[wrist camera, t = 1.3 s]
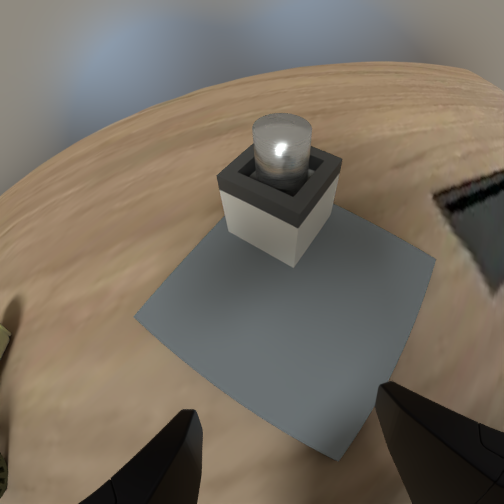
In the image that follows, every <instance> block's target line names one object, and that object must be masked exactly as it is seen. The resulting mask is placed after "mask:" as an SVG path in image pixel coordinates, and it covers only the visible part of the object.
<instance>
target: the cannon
mask: <svg viewBox="0 0 504 504" xmlns="http://www.w3.org/2000/svg"><path fill="white" fill-rule="evenodd" d="M9 336H11V333H10V332H9V331H8V330H7V329H6V328H5V327H4V326H3V325H1V324H0V359H1V357H2V355H3V353H4V351H5V349H6V347H7V345H8V343H9ZM7 480H8V469H7V465H6V463H5V460H4V458H3V456H2V455H1V453H0V498H1V497H2V496H3V494H4V492H5V490H6V487H7Z"/></svg>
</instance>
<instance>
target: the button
mask: <svg viewBox="0 0 504 504" xmlns="http://www.w3.org/2000/svg"><path fill="white" fill-rule="evenodd" d="M252 130H253V143H254V155H255V168H256V180H257V181H259V182H261V183H263V184H266V185H268V186H270V187H272V188H275V189H277V190H279V191H281V192H283V193H286V194H288V195H290V196H292V197H294V196H295V195H296V194H297V193H298V191H299V190H300V189H301V188H302V187H303V185H304V184H305V183H306V182H307V178H308V168H309V158H310V147H311V135H312V127H311V125H310V123H309V122H308V121H307V120H305V119H304V118H302V117H300V116H297V115H293V114H288V113H274V114H269V115H265V116H263V117H261V118H259V119H258V120H256V121H255V123H254V124H253V127H252Z"/></svg>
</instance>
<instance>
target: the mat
mask: <svg viewBox="0 0 504 504" xmlns="http://www.w3.org/2000/svg"><path fill="white" fill-rule="evenodd" d="M435 261H436V259H435V258H433V257H431V256H430V255H428V254H426V253H425V252H423V251H421V250H420V249H418V248H416V247H414V246H413V245H411V244H409V243H407V242H406V241H404V240H402V239H400V238H399V237H397V236H395V235H393V234H391V233H389V232H388V231H386V230H384V229H382V228H380V227H378V226H376V225H375V224H373V223H371V222H369V221H367V220H365V219H363V218H361V217H359V216H357V215H355V214H353V213H351V212H349V211H347V210H345V209H343V208H341V207H339V206H337V205H335V204H333V206H332V211H331V215H330V216H329V218H328V219H327V221H326V222H325V224H324V225H323V227H322V228H321V230H320V231H319V232H318V234H317V235H316V237H315V238H314V240H313V241H312V243H311V244H310V245H309V247H308V248H307V250H306V251H305V253H304V254H303V255H302V257H301V258H300V260H299V261H298V263H297V264H296V265H295V267H294V268H293V267H291V266H289V265H287V264H286V263H284V262H282V261H280V260H278V259H277V258H275V257H273V256H271V255H270V254H268V253H266V252H264V251H263V250H261V249H259V248H257V247H255V246H254V245H252V244H250V243H248V242H247V241H245V240H243V239H241V238H239V237H238V236H236V235H234V234H232V233H231V232H229V231H228V227H227V222H226V218H225V216H224V217H223V218H222V219H221V220H220V221H219V222H218V223H217V224H216V225H215V226H214V228H213V229H212V230H211V231H210V232H209V233H208V234H207V235H206V236H205V237H204V238H203V239H202V240H201V241H200V242H199V244H198V245H197V246H196V247H195V248H194V249H193V250H192V251H191V252H190V253H189V254H188V256H187V257H186V258H185V259H184V260H183V261H182V262H181V263H180V264H179V265H178V267H177V268H176V269H175V270H174V271H173V272H172V273H171V274H170V275H169V277H168V278H167V279H166V280H165V281H164V282H163V283H162V284H161V286H160V287H159V288H158V289H157V290H156V291H155V292H154V294H153V295H152V296H151V297H150V298H149V299H148V300H147V302H146V303H145V304H144V305H143V306H142V307H141V309H140V310H139V311H138V312H137V313H136V314H135V316H134V318H135V319H136V320H137V321H138V322H139V323H141V324H142V325H143V326H144V327H145V328H146V329H147V330H148V331H149V332H150V333H151V334H153V335H154V336H155V337H156V338H157V339H158V340H159V341H160V342H162V343H163V344H164V345H165V346H166V347H167V348H169V349H170V350H171V351H172V352H173V353H174V354H176V355H177V356H178V357H179V358H180V359H182V360H183V361H184V362H185V363H187V364H188V365H189V366H190V367H192V368H193V369H194V370H195V371H197V372H198V373H199V374H200V375H202V376H203V377H204V378H206V379H207V380H208V381H210V382H211V383H212V384H214V385H215V386H216V387H218V388H219V389H220V390H222V391H223V392H224V393H226V394H227V395H229V396H230V397H231V398H233V399H234V400H236V401H237V402H238V403H240V404H241V405H243V406H244V407H246V408H247V409H249V410H250V411H252V412H253V413H255V414H256V415H258V416H259V417H261V418H262V419H264V420H266V421H267V422H269V423H270V424H272V425H273V426H275V427H277V428H278V429H280V430H282V431H283V432H285V433H287V434H288V435H290V436H292V437H293V438H295V439H297V440H299V441H300V442H302V443H304V444H306V445H308V446H309V447H311V448H313V449H315V450H317V451H319V452H320V453H322V454H324V455H326V456H328V457H330V458H332V459H334V460H336V461H338V462H339V460H340V459H341V457H342V456H343V455H344V453H345V452H346V450H347V449H348V447H349V446H350V444H351V443H352V441H353V440H354V438H355V437H356V435H357V434H358V432H359V431H360V429H361V427H362V426H363V424H364V423H365V421H366V419H367V418H368V416H369V414H370V413H371V411H372V409H373V408H374V406H375V402H376V396H377V391H378V386H379V385H380V384H382V383H385V382H388V380H389V378H390V376H391V374H392V372H393V370H394V368H395V366H396V364H397V362H398V360H399V357H400V355H401V353H402V351H403V349H404V346H405V344H406V342H407V340H408V337H409V335H410V332H411V330H412V328H413V325H414V323H415V320H416V318H417V315H418V312H419V310H420V307H421V304H422V301H423V299H424V296H425V293H426V290H427V287H428V284H429V281H430V278H431V275H432V271H433V268H434V265H435Z"/></svg>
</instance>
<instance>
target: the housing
mask: <svg viewBox="0 0 504 504" xmlns="http://www.w3.org/2000/svg"><path fill="white" fill-rule="evenodd" d="M341 164H342V159H341V158H339V157H337V156H334V155H332V154H329V153H327V152H325V151H322V150H320V149H317V148H315V147H312V146H311V147H310V158H309V168H308V178H307V182H306V183H305V184H304V185H303V187H302V188H301V189H300V190H299V191H298V193H297V194H296V195H295V196H294V197H292V196H290V195H288V194H286V193H283V192H281V191H279V190H277V189H275V188H272V187H270V186H268V185H266V184H263V183H261V182H259V181H257V180H256V168H255V155H254V143H253V144H252V145H251V146H250V147H249V148H247V149H246V150H245V151H244V152H243V153H242V154H240V155H239V156H238V157H237V158H236V159H235V160H234V161H232V162H231V163H230V164H229V165H228V166H227V167H226V168H224V169H223V170H222V171H221V172H220V173H219V174H218V175H217V180H218V185H219V190H220V195H221V199H222V204H223V208H224V213H225V218H226V222H227V227H228V231H229V232H231V233H232V234H234V235H236V236H238V237H239V238H241V239H243V240H245V241H247V242H248V243H250V244H252V245H254V246H255V247H257V248H259V249H261V250H263V251H264V252H266V253H268V254H270V255H271V256H273V257H275V258H277V259H278V260H280V261H282V262H284V263H286V264H287V265H289V266H291V267H293V268H294V267H295V265H296V264H297V263H298V261H299V260H300V258H301V257H302V255H303V254H304V253H305V251H306V250H307V248H308V247H309V245H310V244H311V243H312V241H313V240H314V238H315V237H316V235H317V234H318V232H319V231H320V230H321V228H322V227H323V225H324V224H325V222H326V221H327V219H328V218H329V216H330V215H331V211H332V206H333V202H334V197H335V193H336V188H337V183H338V178H339V174H340V169H341Z"/></svg>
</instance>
